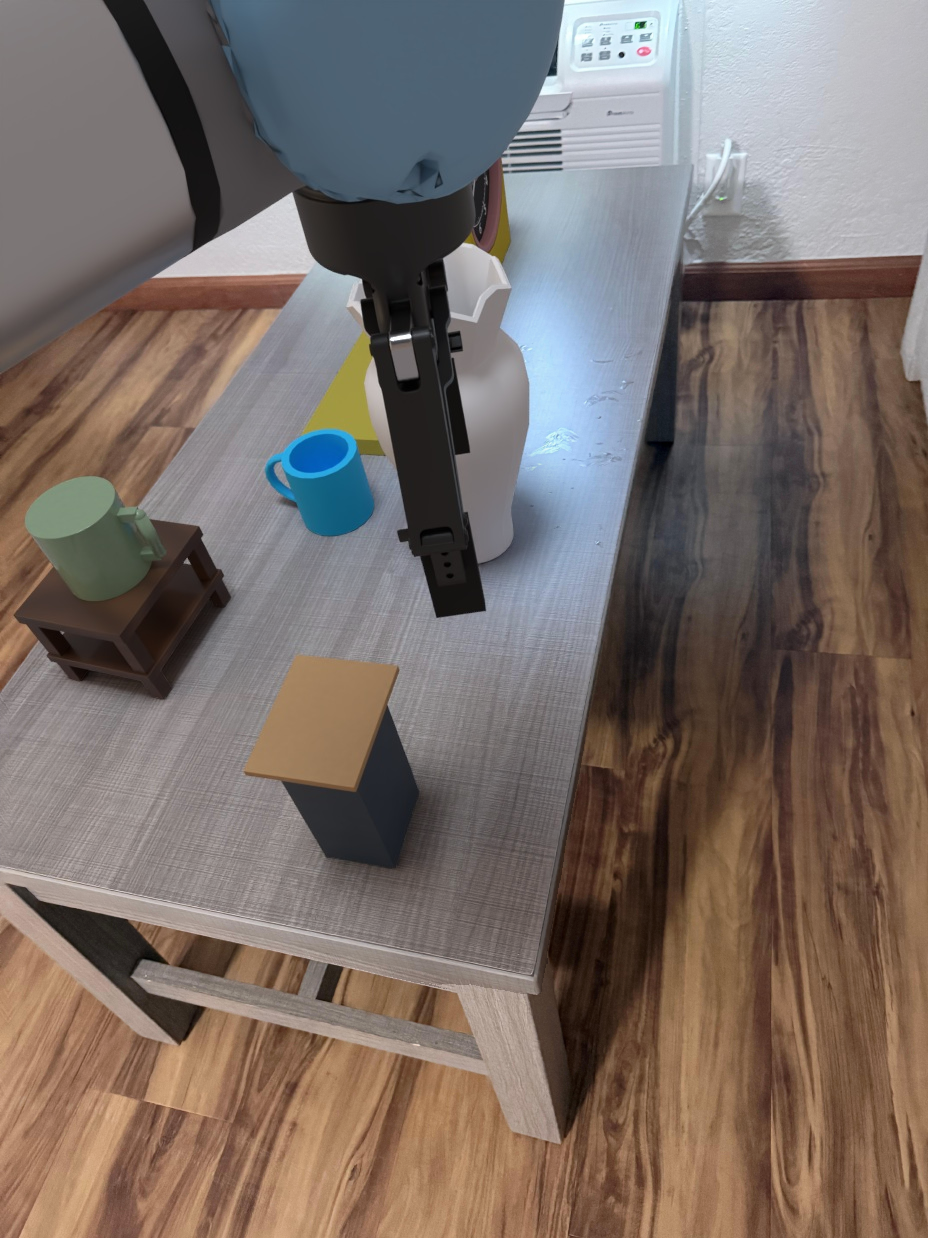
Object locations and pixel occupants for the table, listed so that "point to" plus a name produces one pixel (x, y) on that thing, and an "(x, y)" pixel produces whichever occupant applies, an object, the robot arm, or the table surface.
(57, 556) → the green coffee cup
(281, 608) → the table surface
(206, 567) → the rack
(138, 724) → the table surface
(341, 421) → the flat olive board
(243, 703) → the table surface
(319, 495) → the mug
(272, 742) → the stand
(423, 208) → the robot arm
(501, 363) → the vase
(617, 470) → the table surface
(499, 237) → the alarm clock
